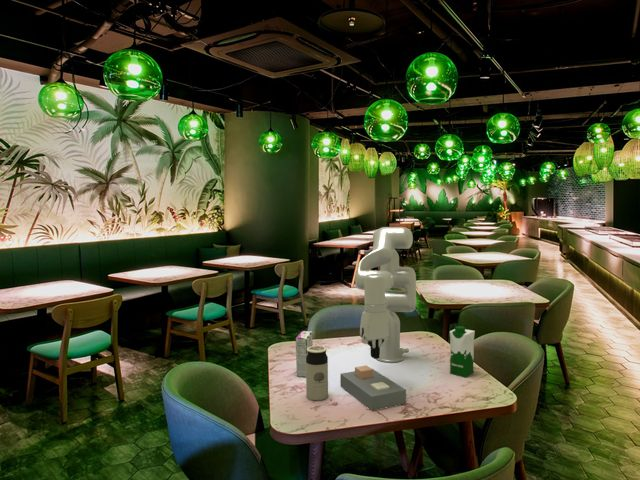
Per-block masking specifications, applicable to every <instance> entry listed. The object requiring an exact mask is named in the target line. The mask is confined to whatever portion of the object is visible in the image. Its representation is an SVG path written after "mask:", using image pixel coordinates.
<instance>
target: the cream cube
mask: <svg viewBox="0 0 640 480" xmlns="http://www.w3.org/2000/svg"><path fill="white" fill-rule="evenodd" d="M371 387H372V388H374V389H375V390H376V391H381V390H386V389H390V386H388V385H387V384H385V383H384V382H379V383H373V384H371Z"/></svg>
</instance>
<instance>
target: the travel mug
mask: <svg viewBox="0 0 640 480" xmlns="http://www.w3.org/2000/svg"><path fill="white" fill-rule="evenodd" d="M327 351H328V348H327V347H326V346H323V345H313V346H310V347H308V348H307V352H308V354H307V356H306V377H305V379H306V380H305V382H306V383H305V384H306V386H305V387H306V388H305V389H306V390H305V393H306V397H307V398H308V399H309V400H311V401H322V400H323V401H324V400H325V399H327V398H328V397H329V378H328V377H329V370H328V369H329V367H328V366H329V365H328V364H329V361H328V360H329V357H328V355H327Z"/></svg>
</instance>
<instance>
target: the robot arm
mask: <svg viewBox="0 0 640 480" xmlns="http://www.w3.org/2000/svg"><path fill="white" fill-rule="evenodd" d="M413 240H414V237H413V232H412V231H411V229H409V228H408V227H406V226H382V227H380V228H378V229H377V230H375V231H374V232H373V234H372V241H373V244H372V245H373V246H372V250H371V251H370V252H369V253H367V254H365V255H364V256H363V257H362V258H361V259H360V261H359V262H358V264H357V267H356V272H355V278H354V283H355V286H356V288H357V289H359V290H361V291H364V311H362V312H361V317H360V326H359V337H360V338H361V343H362V344H364V345H368V346H369V347H370V357H371V358H372V359H375V360H377V361H380V362H384V363H399V362H402V361H403V360H404V355H403V354H408V353H409V352H410V349H409V348H407V347H406V348H404V347H401V321H400V318H399V316H398V315H397V313H413V312H414V311H415V310H416V306H417V275H416V274H417V273H416V272H415V270H414V268H412V267H408V266H400V256H399V253H398V252H397V250H396V249H398V250H401V249H403V250H406V249H408V250H409V249H411V247H412V245H413V242H414V241H413ZM378 267H379V269H380V270H377V269H376V268H378ZM374 268H375V269H376V270H373V269H374ZM392 288H393V290H392ZM395 288H396V289H404V290H394V289H395Z"/></svg>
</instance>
